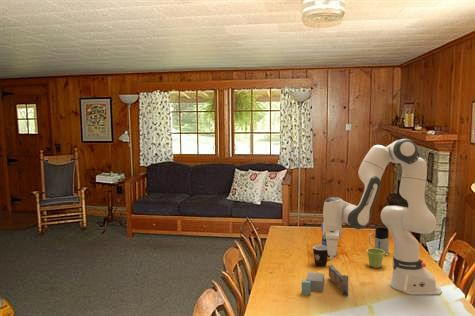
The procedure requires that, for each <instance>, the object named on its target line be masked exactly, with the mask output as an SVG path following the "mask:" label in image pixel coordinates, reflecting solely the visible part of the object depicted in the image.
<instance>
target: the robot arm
mask: <svg viewBox="0 0 475 316" xmlns="http://www.w3.org/2000/svg"><path fill="white" fill-rule="evenodd" d="M389 164H392V165H393V164H395V165H397V164H399V165H400V166H401V168H402V169H401V177H400V183H399V190H398V192H399V195H400V196H401V198H403V199H404V200H405V201H406V202H407V204H408V205H407V206H408V207H407V206H400V205H386V206H384V207H383V208H382V210H381V212H380V219H381V222H382V224H383V225H384V226H385V228H386V229H388V230H389V233H390V235H391V238H392V241H393V256H392V275H391V277H390V278H391V279H390V282H389V285H390V287H391V288H393V289H395V290H396V291H400V292H403V293H404V294H407V295H413V296H414V295H420V296H421V295H422V296H425V295H426V296H427V295H428V296H429V295H437V296H438V295H441V294H442V288H441V286H440V285H439V284H437V283H436V278H435V276H434V275H433V274H432V273H431V272H430V271H429V270H428V269H426V267H427V264H426V262H425V261H423V259H421V258H420V244H419V241H417V240H416V239H415V238H414V237H413V235H411V234H410V232H411V233H417V234H432V233H433V232H434V230H436V227H437V218H436V217H435V215H434V214H433V212H431V210H430V209H429V208H428V206H427V203H426V198H425V193H426V190H425V189H426V185H427V184H426V183H427V173H428V168H427V165H428V164H427V161H426V160H425V159H423V158H422V157H420V153H419V151H418V146H417V144H416V143H415V141H414V140H412V139H408V138H401V139H398V140H395V141H393V142H392V143H389V144H388V145H386V146H385V145H381V144H376V145H375V144H374V145H373V146H372V147H371V148H370V149H369V151H368V152H367V153H366V155H364V158H363V160H362V162H361V163H360V166H359V168H358V170H357V171H358V172H357V173H358V174H357V175H358V177H359V179H360V180H361V182H362V184H363V186H364V190H363V193H362V195H361V197H360V201H359V203H358V205H356V204H353V203H349V202H348V201H345V200H343V199H342V198H341V197H338V196H331V197H328V198H326V199H325V200H324V203H323V209H322V210H323V212H322V217H323V222H322V223H323V235H324V236H325V238H326V242H327V252H328V255H330V257H329V259H330V260H329V261H333V260H334V257H336V256H337V255H336V252H337V253H338V243H339V239H340V237H341V236H342V229H343V227H342V226H343V225H342V224H343V223H345V224H347V225H349V226H351V227H352V228H354V229H355V230H363V229H366V227H368V225H369V224H370V222H371V218H372V211H373V208H374V205H375V202H376V200H377V197H378V196H379V191H380V189H381V184H382V181H381V180H382V177H383V175H384V173H385V170H386V168H387V166H388V165H389ZM335 255H336V256H335ZM333 256H334V257H333Z"/></svg>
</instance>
